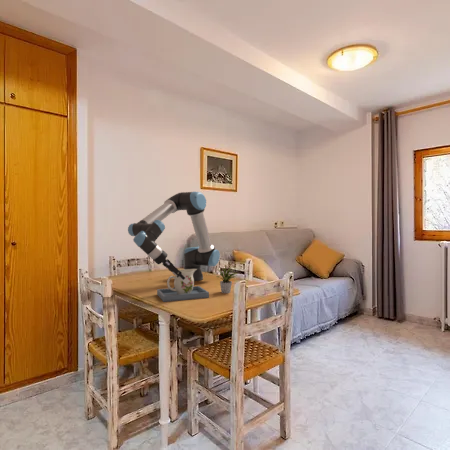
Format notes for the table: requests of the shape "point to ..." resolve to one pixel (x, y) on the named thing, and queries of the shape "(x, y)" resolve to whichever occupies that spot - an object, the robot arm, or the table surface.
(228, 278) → the house plant
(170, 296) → the tray
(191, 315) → the table surface
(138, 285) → the table surface
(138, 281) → the table surface
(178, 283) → the pitcher
